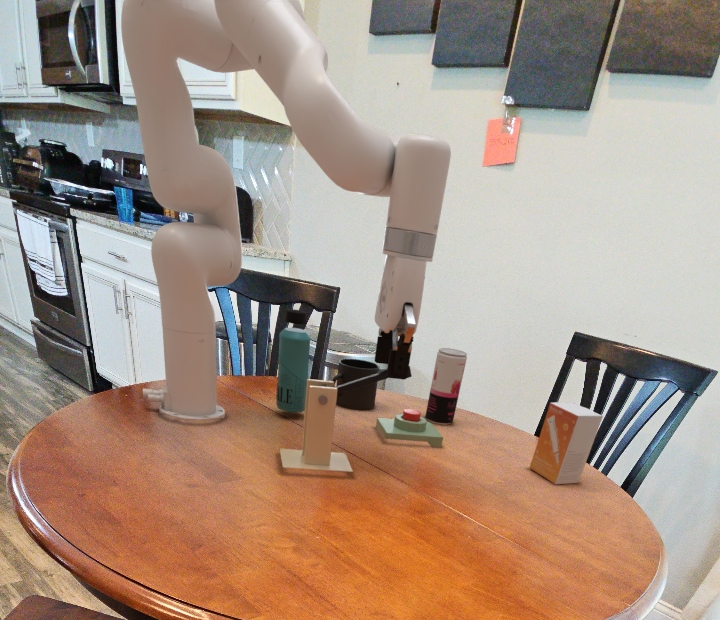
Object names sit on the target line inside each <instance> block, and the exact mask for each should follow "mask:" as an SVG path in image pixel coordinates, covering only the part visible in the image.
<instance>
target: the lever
mask: <svg viewBox="0 0 720 620" xmlns="http://www.w3.org/2000/svg"><path fill="white" fill-rule="evenodd" d="M409 378H412V370H411V366H410V365H409V368H408V373H407V378H406V379H409ZM387 379H389V378H388V377H387V369H386V370H383V371H379V373H376V374H373V375H370V376H367V377H364V378H361V379H358V380H355V381H351V382H348V383H345V384H342V385H339V386H336V385H335V387H334V388H337V394H340V393H343V392H346V391H350V390H353V389H356V388H359V387H362V386H365V385H368V384H371V383H375V382H378V383H379V382H380V381H383V380H387ZM401 380H402V381H404V379H401ZM321 386H324V387H328V386H327V384H324V385H321Z"/></svg>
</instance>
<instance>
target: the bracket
mask: <svg viewBox="0 0 720 620" xmlns="http://www.w3.org/2000/svg"><path fill="white" fill-rule="evenodd" d="M324 384H327V386H328V387H324V386H321V385H324ZM336 399H337V388H334V382H333V381H332V380H326V379H325V380H324V379H314V378H313V379H312V378H308V379H307V388H306V401H305V411H304V416H303V430H302V445H301V449H294V448H293V449H292V448H279V455H280V459H281V465H282V468H283V469H295V470H309V471H311V470H313V471H328V472H342V473H343V472H344V473H354V470H353V468H352V466H351V464H350V461H349V459H348V456H347V454H346V452H338V451H337V452H336V451H332V449H333V448H332V446H333V437H334V427H335V416H336V407H337V404H336Z"/></svg>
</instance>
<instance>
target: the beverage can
mask: <svg viewBox="0 0 720 620" xmlns="http://www.w3.org/2000/svg"><path fill="white" fill-rule="evenodd" d="M467 355H468V353H467V352H465V351H463V350H460V349H455V348H449V347H440V348H438V351H437V354H436V358H435V364H434V369H433V373H432V380H431V384H430V389H429V395H428V401H427V406H426V411H425V416H424V417H425V419H426V420H427V422H431V423H432V424H436V425H440V426H449V425H451V424H452V423H453V422H454V418H455V414H456V410H457V405H458V401H459V395H460V392H461V391H460V390H461V387H462V383H463V378H464V372H465V370H466V369H465V368H466V364H467V359H468V357H467Z"/></svg>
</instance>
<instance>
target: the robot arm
mask: <svg viewBox="0 0 720 620" xmlns="http://www.w3.org/2000/svg"><path fill="white" fill-rule="evenodd" d="M120 15H121V17H120V28H121V29H120V30H121V38H122V46H123V52H124V56H125V61H126V65H127V70H128V74H129V77H130V80H131V85H132V89H133V93H134V97H135V98H134V99H135V104H136V110H137V119H138V124H139V130H140V136H141V142H142V149H143V156H144V162H145V167H146V173H147V178H148V179H147V180H148V185H149V188H150V191H151V193H152V196H153V198H154V200H155V201H156V202H157V203H158V204H159V205H160V206H161V207H162V208H164V209H166V210H168V211H171V212H177V213H185V214H192V216H193V222H189V221H188V222H187V221H172V222H169V223H166V224H163V225H162V226H160V227H159V229H157V231H156V232H155V234H154V235H153V238H152V240H151V241H152V242H151V247H150V248H151V249H150V250H151V251H150V253H151V261H152V266H153V270H154V274H155V279H156V284H157V288H158V289H157V290H158V294H159V303H160V314H161V315H160V316H161V327H162V338H163V339H162V342H163V357H164V359H163V360H164V375H165V385H164V388H161V387H160V388H159V389H153V388H142V399H143V400H147V402H149V403H150V402H151V403H160V404H159V406H158V413H160V414H166V415H167V416H168V415H169V416H171V417H174V418H180V419H188V420H212V419H216V418H217V419H218V418H219V419H224V418H225V416H226V411H225V409H224V407H222V406H221V405H219V404H218V395H217V393H218V389H217V387H218V386H217V383H218V382H217V330H216V327H217V326H216V312H215V308H214V305H213V301H212V299H211V296H210V292H209V289H208V288H211V287H212V288H213V287H225V286H228V285H231V284H232V283H234V282H235V281H236V280H237V278H238V277H239V275H240V274H241V270H242V264H243V244H242V234H241V224H240V213H239V204H238V195H237V187H236V182H235V178H234V175H233V171H232V170H231V168H230V165H229V164H228V161H227V160H226V159H225V157H224V156H223V154H221V153H220V152H219V151H217V150H216V149H214V148H212V147H210V146H207V145H203V144H199V139H198V135H197V130H196V124H195V111H194V107H193V101H192V98H191V94H190V92H189V89H188V87H187V83H186V82H185V79H184V77H183V74H182V72H181V70H180V67H179V60H183V61H185V62H188V63H189V64H193V65H195V66H198V67H200V68H202V69H205V70H207V71H211V72H214V73H221V74H225V73H226V74H228V73H236V72H243V71H250V70H251V71H252V70H254V71H255V72H256V73H257V74H258V76H259V77H260V78H261V79H262V81H263V82H264V83H265V84H266V86H267V87H268V88H269V90H270V91H271V92H272V93H273V95H274V96H275V97H276V98H277V100H278V101H279V103H280V104H281V105H282V106H283V109H284V112H285V115H286V118H287V120H288V122H289V125H290V127H291V129H292V131H293V133H294V135H295V137H296V138H297V140H298V142H299V143H300V144H301V146H302V147H303V148H304V150H305V151H306V152H307V154H308V155H309V156H310V158H312V160H313V161H314V162H315V164H317V166H318V167H319V168H320V169H321V171H322V172H323V173H324V174H325V175H326V176H327V177H328V179H330V180H331V182H333V184H335V185H336V186H337V187H338V188H340V189H342V190H343V191H346V192H350V193H356V194H361V195H364V196H367V197H374V198H388V199H389V200H388V207H387V213H386V214H387V215H386V222H385V223H386V224H385V230H384V237H383V245H382V252H381V254H383V255H385V260H384V264H383V268H382V274H381V278H380V283H379V284H380V285H379V289H378V296H377V301H376V308H375V313H374V322H375V325H377V326H378V335H377V340H376V341H377V342H376V347H375V353H374V363H375V364H381V365H387V369H386V370H387V377H388V378H387V379H396V380H402V379H403V380H407V379H408V378H407V373H408V368H409V366H410V361H411V355H412V351H413V342H414V334H416V333H417V328H418V325H419V320H420V315H421V314H420V313H421V308H422V302H423V293H424V286H425V279H426V272H427V271H426V270H427V262H429V263H432V262H433V259H434V255H435V248H436V243H437V237H438V231H439V227H440V220H441V215H442V209H443V203H444V198H445V191H446V187H447V180H448V175H449V169H450V164H451V158H452V151H451V147H450V144H449V142H447V141H446V140H445V139H443V138H440V137H437V136H433V135H428V134H423V133H405V134H403V135H402V136H400V135H396V134H394V133H391V132H389V131H386V130H383V129H381V128H379V127H377V126H375V125H373V124H370V123H368V122H366V121H363V120H362V119H361V117H359V116H358V114H356V111H354V110H353V109H352V107H351V106H350V105H349V103H348V102H347V101H346V100H345V98H344V97H343V96H342V95H341V93H340V92H339V90H337V88H336V87H335V85H334V84H333V82H332V81H331V79H330V78H329V76H328V74H327V72H328V68H329V56H328V52H327V49H326V46H325V45H324V44H323V42H322V41H321V39H319V37H318V36H317V34H316V33H315V32H314V31H313V30H312V28H310V26H309V25H308V23H307V22H306V21H305V15H304V10H303V7H302V4H301V2H300V0H123V3H122V7H121V14H120Z"/></svg>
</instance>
